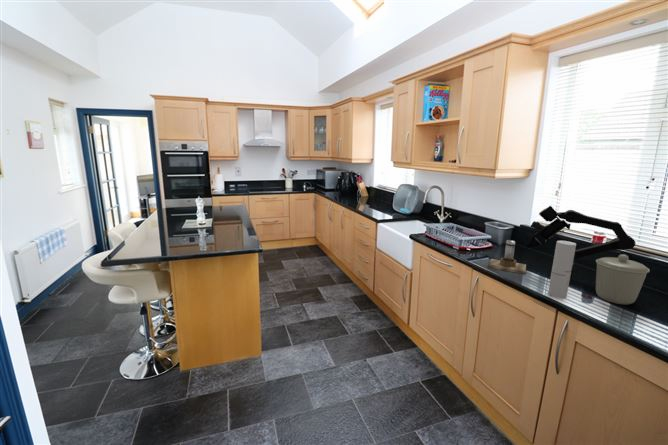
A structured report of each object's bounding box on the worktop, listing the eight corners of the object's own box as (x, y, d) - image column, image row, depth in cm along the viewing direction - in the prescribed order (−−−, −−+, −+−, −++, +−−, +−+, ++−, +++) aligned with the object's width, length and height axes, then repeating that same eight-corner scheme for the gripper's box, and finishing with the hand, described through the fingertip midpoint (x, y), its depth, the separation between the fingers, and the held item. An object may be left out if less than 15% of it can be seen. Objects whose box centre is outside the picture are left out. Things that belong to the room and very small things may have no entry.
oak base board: (525, 266, 188) (526, 264, 188) (525, 274, 176) (525, 271, 176) (491, 261, 197) (491, 258, 197) (488, 267, 185) (489, 265, 185)
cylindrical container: (570, 298, 147) (580, 245, 142) (554, 298, 147) (563, 244, 142) (559, 292, 154) (569, 240, 149) (544, 291, 154) (553, 240, 149)
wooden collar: (515, 264, 188) (516, 259, 187) (515, 268, 181) (516, 263, 180) (500, 261, 192) (501, 256, 191) (499, 265, 185) (500, 260, 184)
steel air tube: (510, 263, 188) (513, 240, 186) (513, 266, 184) (516, 242, 181) (502, 263, 189) (504, 239, 186) (505, 265, 184) (508, 241, 182)
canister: (589, 288, 160) (598, 246, 155) (639, 299, 149) (650, 254, 144) (588, 300, 146) (597, 255, 142) (643, 313, 135) (654, 264, 130)
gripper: (543, 215, 183) (519, 233, 191) (539, 217, 168) (513, 236, 176) (559, 230, 179) (534, 248, 187) (556, 234, 164) (529, 253, 172)
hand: (527, 246), depth 180 cm, fingers open, 9 cm apart
